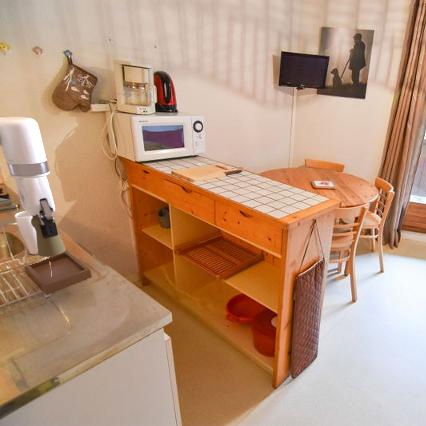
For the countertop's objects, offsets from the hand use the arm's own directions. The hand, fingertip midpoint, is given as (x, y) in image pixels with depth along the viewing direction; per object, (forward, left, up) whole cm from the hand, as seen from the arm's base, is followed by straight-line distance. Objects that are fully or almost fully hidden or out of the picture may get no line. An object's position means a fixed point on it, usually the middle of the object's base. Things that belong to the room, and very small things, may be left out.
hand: (46, 232), depth 86 cm
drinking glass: (-18, +29, -21) cm, 40 cm away
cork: (0, 0, -6) cm, 6 cm away
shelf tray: (-6, +12, -21) cm, 25 cm away
